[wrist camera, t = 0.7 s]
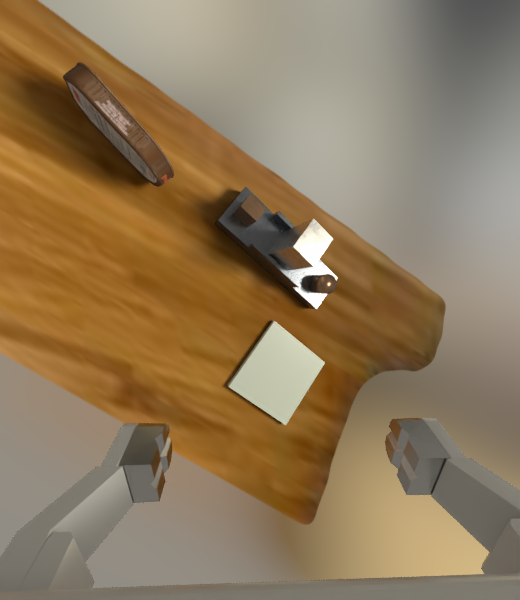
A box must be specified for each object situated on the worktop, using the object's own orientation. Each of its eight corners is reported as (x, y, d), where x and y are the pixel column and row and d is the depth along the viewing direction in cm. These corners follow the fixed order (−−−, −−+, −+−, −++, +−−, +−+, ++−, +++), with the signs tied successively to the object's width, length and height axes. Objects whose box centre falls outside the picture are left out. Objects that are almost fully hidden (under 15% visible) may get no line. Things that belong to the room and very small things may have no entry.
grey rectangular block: (265, 255, 45) (293, 246, 36) (283, 231, 46) (313, 218, 38) (283, 271, 46) (313, 266, 38) (300, 248, 47) (333, 238, 39)
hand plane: (214, 223, 44) (225, 213, 38) (240, 192, 46) (255, 176, 40) (309, 308, 51) (330, 310, 45) (329, 278, 52) (353, 276, 46)
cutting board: (227, 385, 46) (228, 386, 45) (272, 320, 48) (274, 320, 48) (283, 423, 50) (285, 425, 49) (322, 361, 52) (325, 362, 52)
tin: (173, 184, 42) (179, 160, 34) (157, 198, 41) (160, 175, 33) (88, 92, 38) (73, 40, 30) (69, 105, 37) (48, 55, 29)
